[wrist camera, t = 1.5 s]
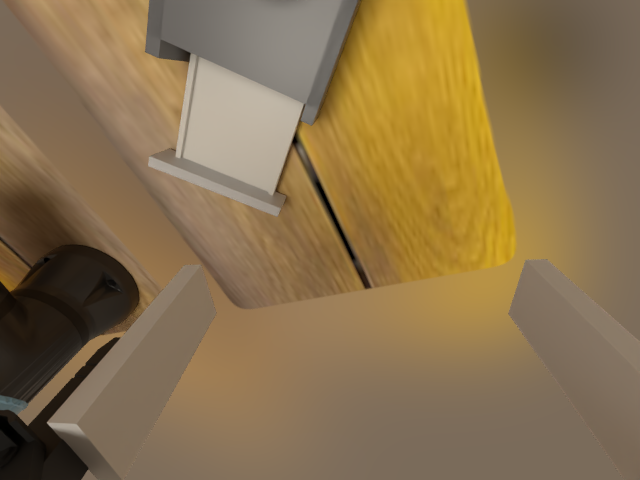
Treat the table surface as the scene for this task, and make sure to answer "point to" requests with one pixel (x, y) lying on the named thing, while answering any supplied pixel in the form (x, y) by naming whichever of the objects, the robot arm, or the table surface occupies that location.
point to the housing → (258, 40)
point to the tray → (232, 136)
